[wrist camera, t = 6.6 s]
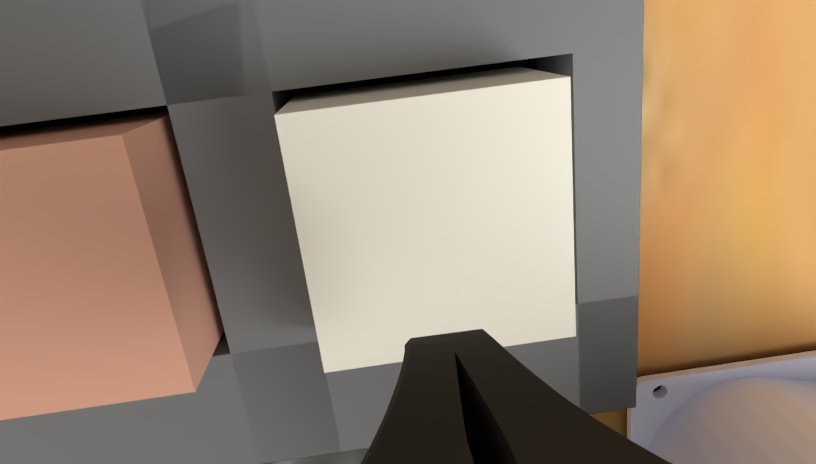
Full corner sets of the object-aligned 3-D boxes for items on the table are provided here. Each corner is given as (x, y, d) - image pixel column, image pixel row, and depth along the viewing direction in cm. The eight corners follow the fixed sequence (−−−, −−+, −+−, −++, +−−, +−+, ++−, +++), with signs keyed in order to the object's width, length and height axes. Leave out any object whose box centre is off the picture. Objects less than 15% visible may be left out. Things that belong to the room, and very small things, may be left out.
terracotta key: (181, 109, 15) (121, 134, 11) (232, 312, 17) (195, 391, 13) (-51, 139, 15) (-192, 175, 11) (27, 341, 17) (-69, 430, 13)
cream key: (518, 66, 15) (570, 76, 12) (528, 270, 17) (575, 336, 14) (295, 95, 15) (273, 115, 11) (332, 298, 17) (324, 372, 13)
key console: (592, -104, 15) (646, -136, 12) (596, 354, 20) (636, 407, 17) (-184, -13, 14) (-318, -24, 12) (9, 440, 19) (-51, 510, 16)
